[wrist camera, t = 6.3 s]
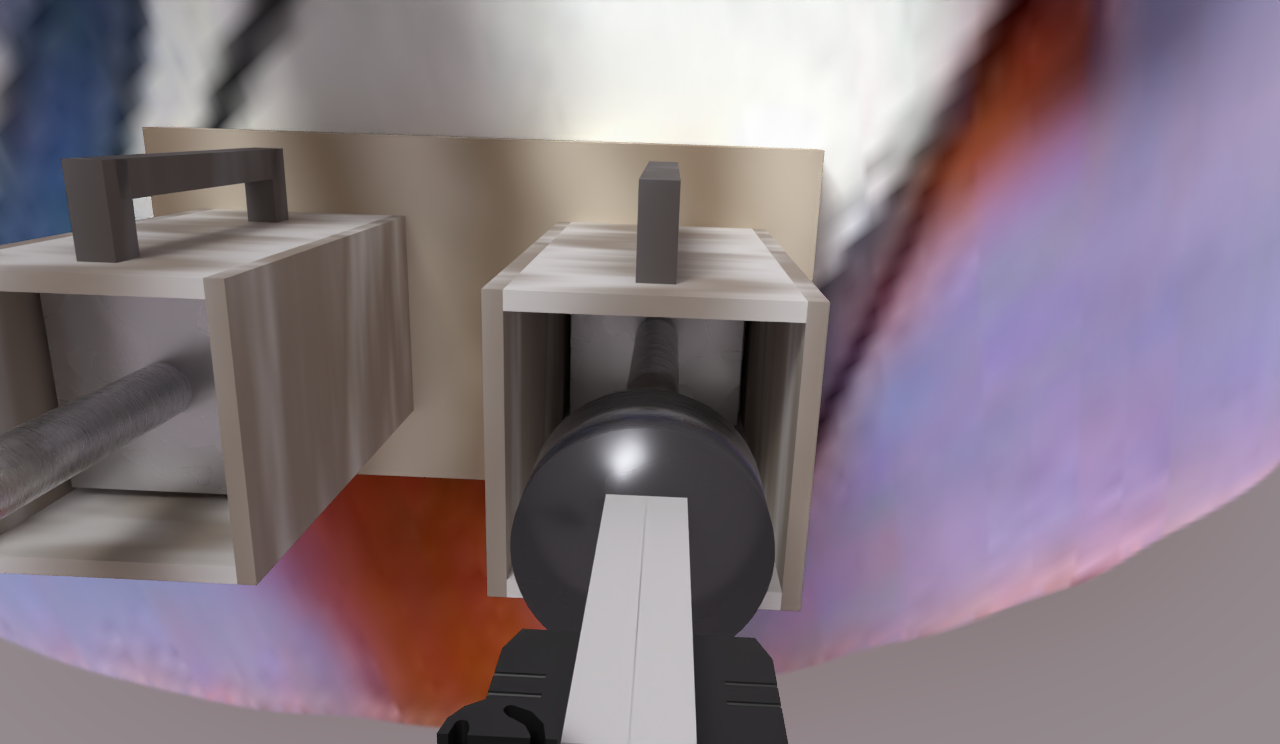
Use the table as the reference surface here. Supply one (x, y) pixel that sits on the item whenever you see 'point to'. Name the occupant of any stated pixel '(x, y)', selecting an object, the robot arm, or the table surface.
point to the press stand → (410, 322)
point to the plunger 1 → (120, 402)
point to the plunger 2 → (648, 468)
